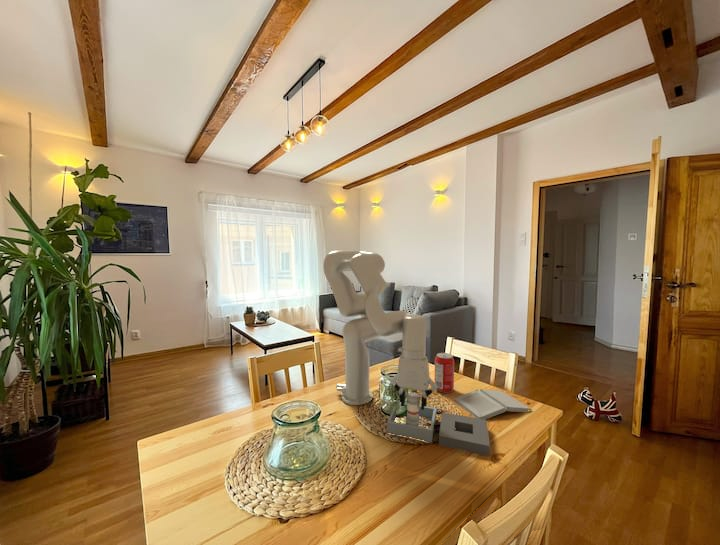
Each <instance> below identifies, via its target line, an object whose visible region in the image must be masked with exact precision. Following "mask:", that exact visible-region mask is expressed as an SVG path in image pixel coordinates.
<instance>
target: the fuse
mask: <svg viewBox="0 0 720 545" xmlns="http://www.w3.org/2000/svg"><path fill="white" fill-rule="evenodd" d="M406 403H407V417H406V424H407V425H412V426H417V427H418V425H419V405H420V403H421V396H420V394H419V393H416V392H408V393H407V394H406Z"/></svg>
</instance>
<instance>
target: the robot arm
mask: <svg viewBox="0 0 720 545" xmlns="http://www.w3.org/2000/svg"><path fill="white" fill-rule="evenodd" d="M385 267H386V263H385V260H384V258H383V257H382V256H381V255H380V254H378V253H377V252H376V253H375V252H369V251H363V250H361V251H360V250H344V249H343V250H339V249H338V250H333V251H330V252H328V253H327V254H326V255H325V257H324V260H323V273H324V276H325V278H326V280H327V282H328V284H329V286H330V288H331V290H332V293H333V297H334V299H335V302H336V306H337V308H338V311H339V314H340V315H341V316H342V317H343V318H353V317H354V318H355V317H359V316H360V318H355V319H351V320H349V321H347V322H346V323H345V324H344V326H343V328H342V337H343V343H344V354H345V359H344V360H345V361H344V362H345V364H344V365H345V366H344V368H345V369H344V370H345V371H344V372H345V373H344V374H345V376H344V377H345V380H344V381H345V383H344V384H342V383H337V384H336V386H335V388H336V391H337V392H342V393H341V400H342V401H343V402H344V403H345V404H348V405H350V406H361V405H360V404H365V403H368V402H369V401H371V400H372V398H373V399H374V394H373V392H372V391H371V390H370V351H369V349H368V348H367V347H368V346H367V345H366V343H368V342H369V341H373V340H376V339H379V338H380V337H384V338H385V337H391V336H394V335H398V334H402V347H398V348H397V352H398V353H401V355H400V356H399V359H398V365H397V374H395V375H394V376H393V377H392V378H391V379H390V382H389V383H390V384H392V386H393V387H394V388H395V389H396V391H397V392H398V394H399V402H401V406H404V404H405V403H406V391H405V389H408V390H413V391H420V392H421V394H422V395H421V398H420V403H421V405H420V406H421V409H422V410H424V407H427V401H428V400H427V399H428V397H430V395H432V394H433V393H434V392H435V391H438V390H437V385H436V384H435V383H434V380H433V379H432V378H431V377H430V367H429V360H428V356H426V353H427V352H426V351H427V349H426V348H427V346H426V344H427V341H426V340H427V319H426V317H425V316H423V315H421V314H415V313H413V314H412V313H409V312H407V311H405V310H394V311H390V312H385V310H384V309H383V307H382V306H381V304H380V300H379V296H380V295H381V293H382V292H384V291H385V289H386V288H387V282H386V280H385V279H384V277H383V276H382V272H384V269H385ZM350 271H352V273H353V274H354V276H355V278H356V280H357V281H358V283H359V285H360V287H361V289H362V290H363V291H359V292H356V291H355V289H354V286H353V283H352V281H351V279H350V278H349V277H348V276H347V275H346V274H345V273H344V272H350ZM429 385H430V387H429ZM372 401H373V400H372ZM372 401H371V402H372ZM368 404H369V403H368ZM365 405H366V404H365Z"/></svg>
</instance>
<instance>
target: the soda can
mask: <svg viewBox="0 0 720 545" xmlns="http://www.w3.org/2000/svg"><path fill="white" fill-rule="evenodd" d="M433 382H434V383H435V384H436V385H437V390H436V391H438V392H440V393H443V394H449V393H451V392H453V391H454V386H455V384H454V383H455V359H454V356H453V354H450V353H446V352H438V353H437V354H436V356H435V357H434V379H433Z"/></svg>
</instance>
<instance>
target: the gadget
mask: <svg viewBox="0 0 720 545" xmlns="http://www.w3.org/2000/svg"><path fill="white" fill-rule="evenodd" d="M453 401H454V402H456V404H458V405H459V406H461V407H462V408H463V409H465V410H466V411H467V412H468V413H469V414H470V415H472V416H473V418H478V419H484V420H488V419H490V418H493V417H495V416H498V415H500V414H503V413H505V412H515V413H516V412H517V413H527V412H526V411H528V410H531V411H532V408H531V407H530V406H527V405H526V404H524V403H523V402H522V401H519V400H518V399H516V398H514V397H513V396H511V395H510V394H508V393H506V392H504V391H502V390H493V389H484V388H481V389H480V390H479V389H476V390H471V391H470V392H467V393H465V394H464V393H463V394H461V395H459V396H456V397H454V400H453Z"/></svg>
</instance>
